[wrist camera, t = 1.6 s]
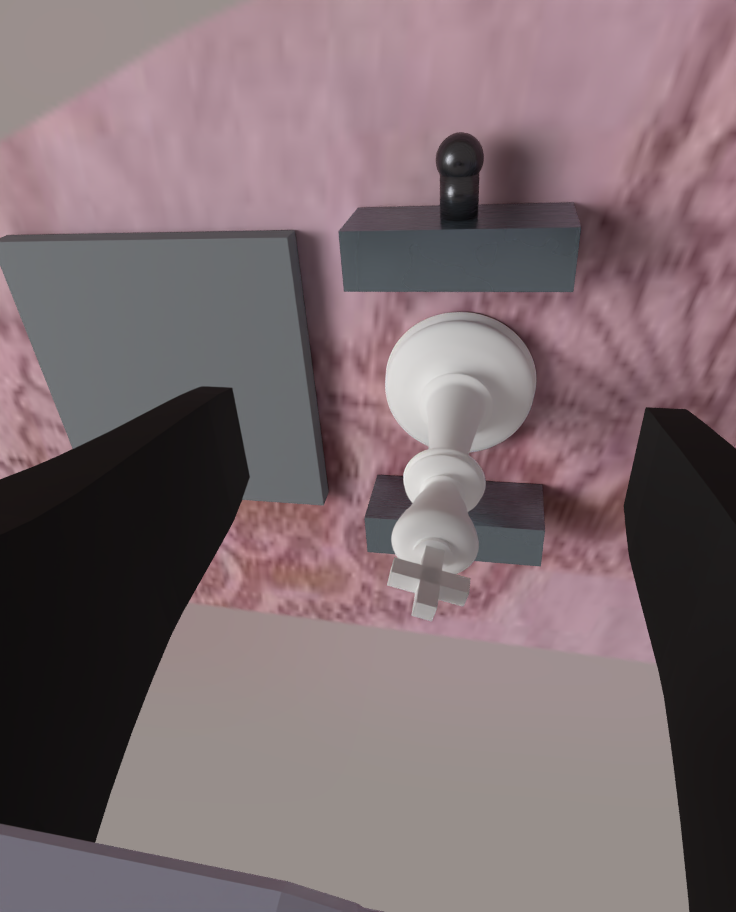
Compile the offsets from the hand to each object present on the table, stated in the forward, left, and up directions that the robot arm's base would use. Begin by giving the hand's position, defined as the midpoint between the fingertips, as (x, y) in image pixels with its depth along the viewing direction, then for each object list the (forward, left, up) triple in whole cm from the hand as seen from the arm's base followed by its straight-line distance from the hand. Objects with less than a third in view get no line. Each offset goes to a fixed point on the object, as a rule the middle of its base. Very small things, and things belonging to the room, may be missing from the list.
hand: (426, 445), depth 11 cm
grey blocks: (0, +4, -9) cm, 10 cm away
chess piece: (0, +4, -10) cm, 10 cm away
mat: (+10, +4, -9) cm, 14 cm away
